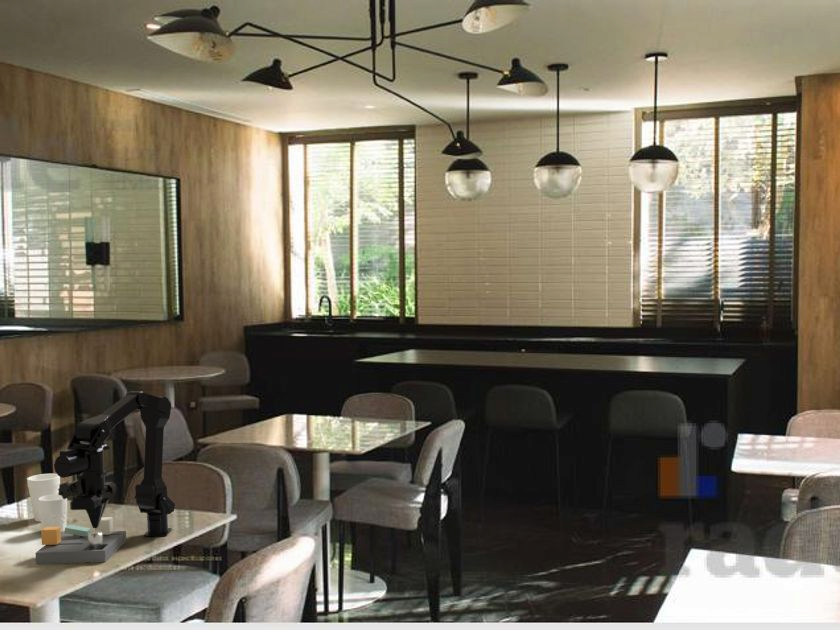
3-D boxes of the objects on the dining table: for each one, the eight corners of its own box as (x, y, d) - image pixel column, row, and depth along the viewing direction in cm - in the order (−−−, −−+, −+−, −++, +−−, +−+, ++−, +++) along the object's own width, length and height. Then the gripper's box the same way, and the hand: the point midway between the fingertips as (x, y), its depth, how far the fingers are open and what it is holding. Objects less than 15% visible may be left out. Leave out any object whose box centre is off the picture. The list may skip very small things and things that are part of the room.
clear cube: (91, 546, 245) (90, 531, 244) (105, 545, 245) (104, 530, 244) (86, 550, 241) (86, 535, 241) (100, 549, 241) (99, 534, 241)
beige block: (98, 531, 256) (98, 517, 256) (113, 531, 256) (112, 517, 256) (95, 534, 253) (94, 520, 253) (109, 534, 253) (109, 520, 253)
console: (61, 543, 257) (61, 531, 257) (126, 541, 258) (125, 529, 257) (36, 564, 239) (35, 550, 239) (105, 562, 240) (104, 548, 239)
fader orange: (46, 541, 248) (45, 526, 247) (61, 541, 248) (60, 526, 247) (41, 544, 245) (41, 530, 244) (56, 544, 245) (56, 529, 244)
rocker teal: (68, 529, 255) (69, 524, 254) (89, 533, 255) (90, 528, 255) (64, 532, 252) (65, 527, 252) (85, 536, 252) (86, 531, 252)
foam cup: (29, 516, 287) (27, 475, 286) (61, 513, 290) (59, 472, 289) (29, 524, 278) (27, 482, 277) (62, 520, 281) (60, 478, 281)
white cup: (58, 535, 265) (57, 501, 265) (34, 534, 267) (32, 500, 267) (74, 527, 273) (72, 494, 273) (50, 526, 275) (48, 493, 274)
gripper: (74, 462, 251) (77, 519, 252) (48, 478, 232) (51, 539, 233) (115, 461, 251) (118, 517, 252) (92, 477, 233) (95, 537, 233)
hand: (95, 527), depth 243 cm, fingers closed
